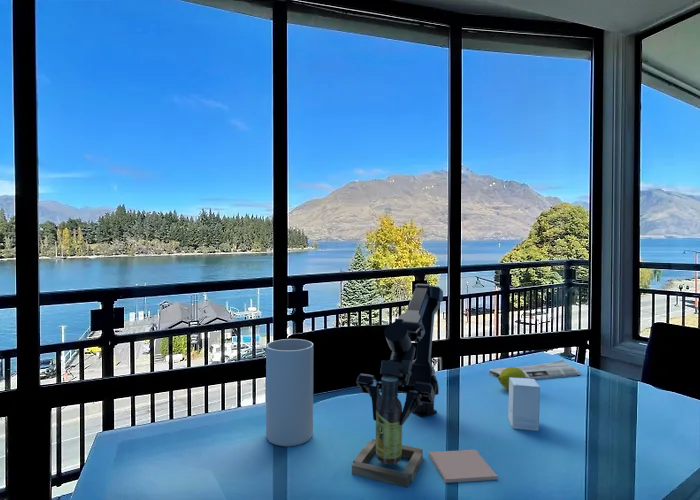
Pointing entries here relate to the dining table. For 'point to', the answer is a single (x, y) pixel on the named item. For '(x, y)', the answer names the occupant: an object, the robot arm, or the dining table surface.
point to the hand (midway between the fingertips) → (387, 422)
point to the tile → (462, 466)
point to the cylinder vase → (289, 392)
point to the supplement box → (524, 403)
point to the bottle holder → (386, 474)
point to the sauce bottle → (389, 422)
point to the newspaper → (544, 370)
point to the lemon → (510, 375)
